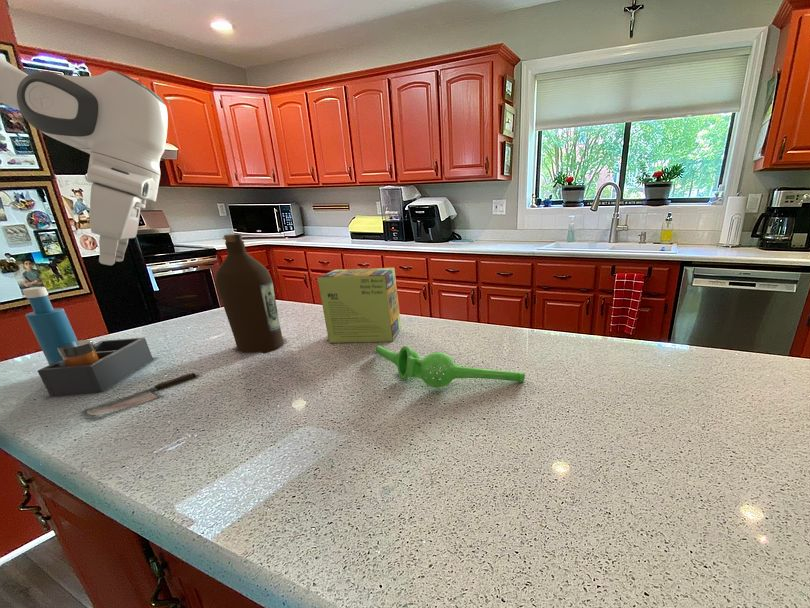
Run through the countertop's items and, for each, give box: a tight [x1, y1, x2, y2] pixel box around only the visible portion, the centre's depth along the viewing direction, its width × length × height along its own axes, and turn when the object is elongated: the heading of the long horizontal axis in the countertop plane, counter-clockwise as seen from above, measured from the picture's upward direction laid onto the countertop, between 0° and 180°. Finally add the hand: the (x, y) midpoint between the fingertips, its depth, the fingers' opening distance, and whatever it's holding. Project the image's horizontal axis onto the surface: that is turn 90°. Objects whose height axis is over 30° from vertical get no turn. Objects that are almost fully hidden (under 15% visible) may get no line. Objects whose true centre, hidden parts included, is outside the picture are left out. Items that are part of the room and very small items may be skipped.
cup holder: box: [37, 337, 154, 398], centre depth 76 cm, size 8×16×6 cm, turn 10°
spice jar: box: [57, 339, 99, 367], centre depth 72 cm, size 5×5×8 cm
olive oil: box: [215, 233, 284, 354], centre depth 87 cm, size 11×11×25 cm
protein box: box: [317, 267, 402, 344], centre depth 94 cm, size 10×15×16 cm
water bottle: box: [21, 286, 79, 365], centre depth 77 cm, size 5×5×18 cm
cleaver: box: [86, 372, 197, 416], centre depth 69 cm, size 16×1×5 cm
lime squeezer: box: [375, 345, 526, 389], centre depth 72 cm, size 34×12×6 cm, turn 63°
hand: (111, 262), depth 69 cm, fingers open, 8 cm apart
